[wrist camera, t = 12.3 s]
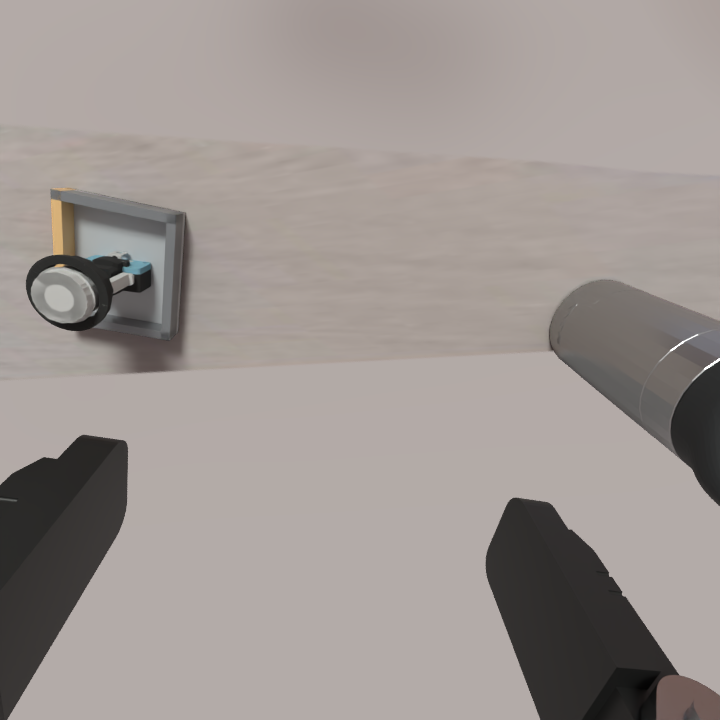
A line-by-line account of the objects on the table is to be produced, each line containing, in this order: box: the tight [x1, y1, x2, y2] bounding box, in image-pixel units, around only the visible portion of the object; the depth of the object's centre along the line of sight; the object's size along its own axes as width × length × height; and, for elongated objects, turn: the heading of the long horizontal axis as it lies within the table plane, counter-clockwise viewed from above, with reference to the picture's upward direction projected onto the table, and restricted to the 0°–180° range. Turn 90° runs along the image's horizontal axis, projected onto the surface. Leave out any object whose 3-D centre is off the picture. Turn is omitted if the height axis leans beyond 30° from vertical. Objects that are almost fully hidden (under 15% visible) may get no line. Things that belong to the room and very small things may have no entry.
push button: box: [26, 251, 151, 331], centre depth 34 cm, size 7×5×10 cm
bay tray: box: [50, 188, 185, 341], centre depth 38 cm, size 10×11×2 cm
